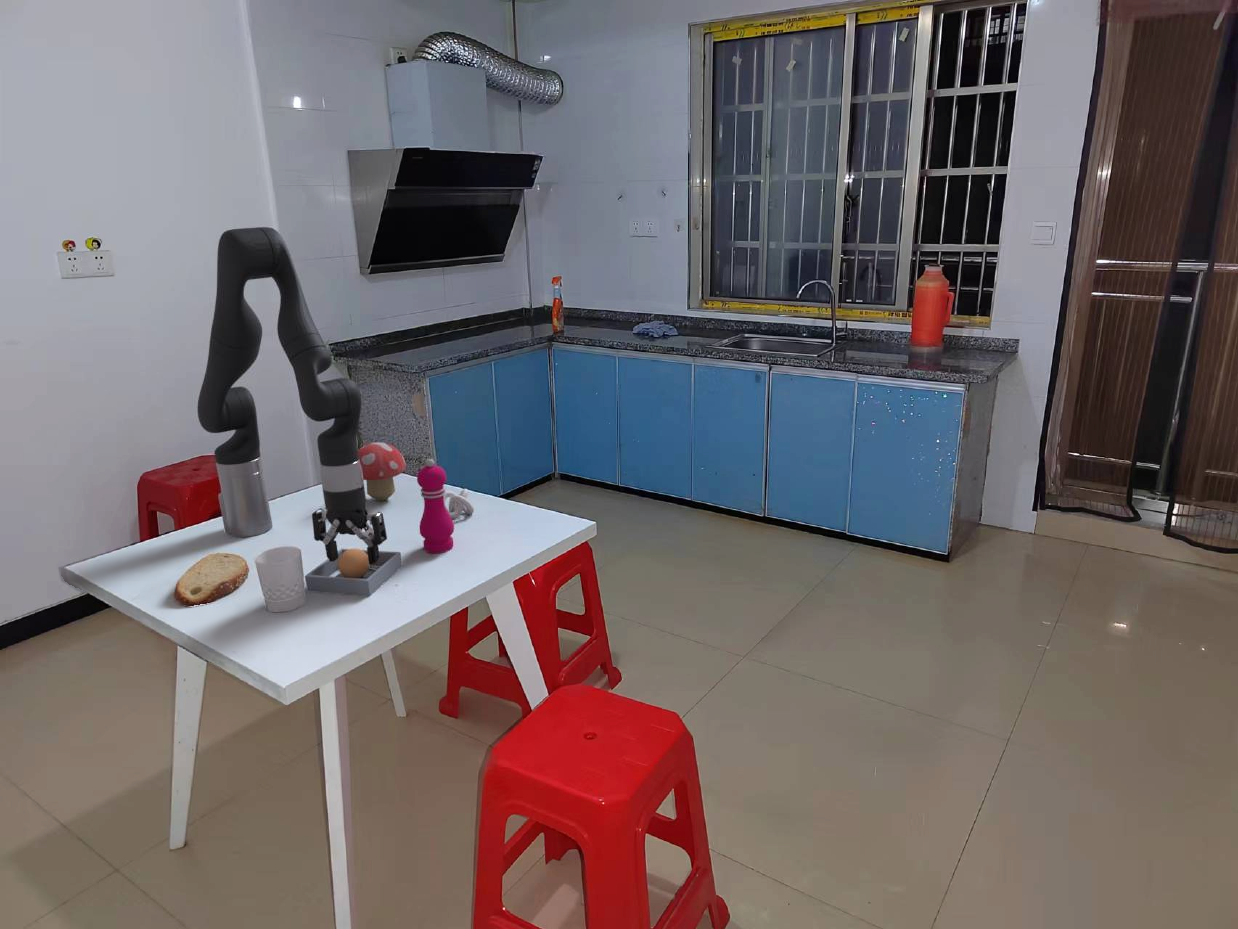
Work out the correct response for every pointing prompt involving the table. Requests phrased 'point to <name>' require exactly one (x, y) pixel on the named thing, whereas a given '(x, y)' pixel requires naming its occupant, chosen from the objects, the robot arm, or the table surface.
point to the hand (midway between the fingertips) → (353, 561)
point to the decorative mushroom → (380, 468)
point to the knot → (458, 503)
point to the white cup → (281, 578)
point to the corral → (353, 586)
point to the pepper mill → (434, 510)
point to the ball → (353, 563)
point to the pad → (367, 575)
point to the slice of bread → (211, 579)
